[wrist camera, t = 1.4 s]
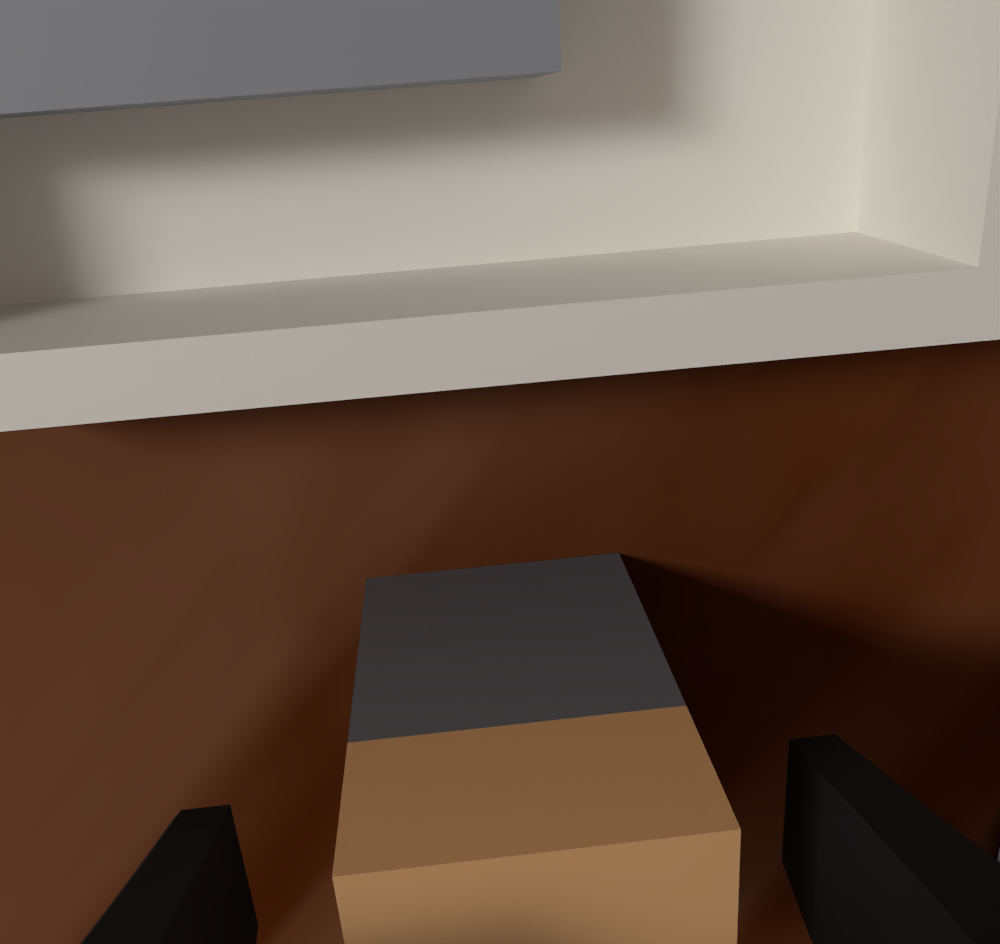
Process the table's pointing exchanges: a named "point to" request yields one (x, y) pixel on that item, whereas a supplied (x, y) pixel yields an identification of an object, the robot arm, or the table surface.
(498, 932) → the block
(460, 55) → the walled box
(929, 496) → the table surface
